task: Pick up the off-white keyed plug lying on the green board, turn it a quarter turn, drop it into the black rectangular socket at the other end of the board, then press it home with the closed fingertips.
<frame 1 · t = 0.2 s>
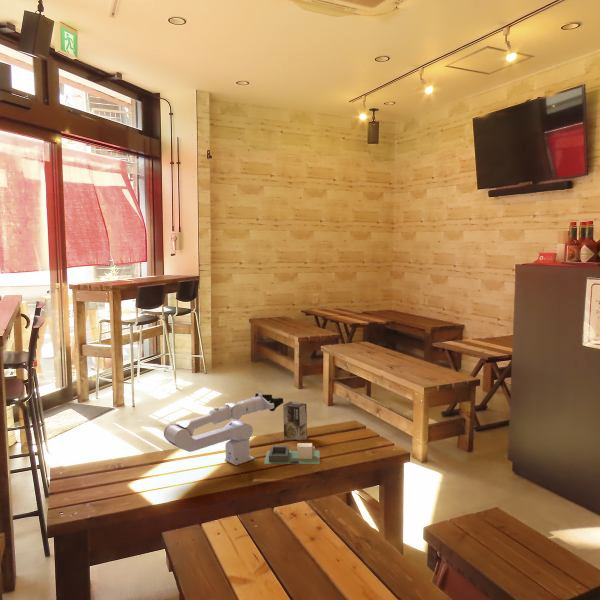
hand: (277, 398, 214), 22 cm above the table, tool horizontal, fingers open, 7 cm apart
board: (292, 459, 202), on the table
plug: (306, 456, 202), point 1 cm above the table, touching board
coffee box: (295, 439, 226), on the table
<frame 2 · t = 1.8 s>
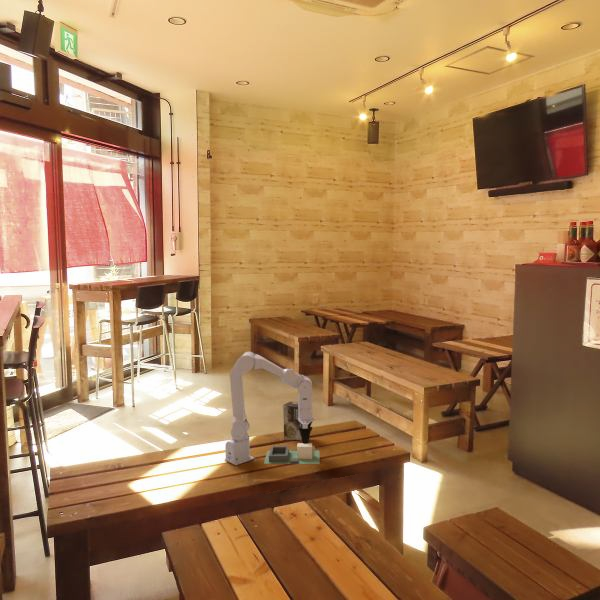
hand: (305, 440, 201), 8 cm above the table, tool pointing down, fingers open, 7 cm apart
nothing on the table moved.
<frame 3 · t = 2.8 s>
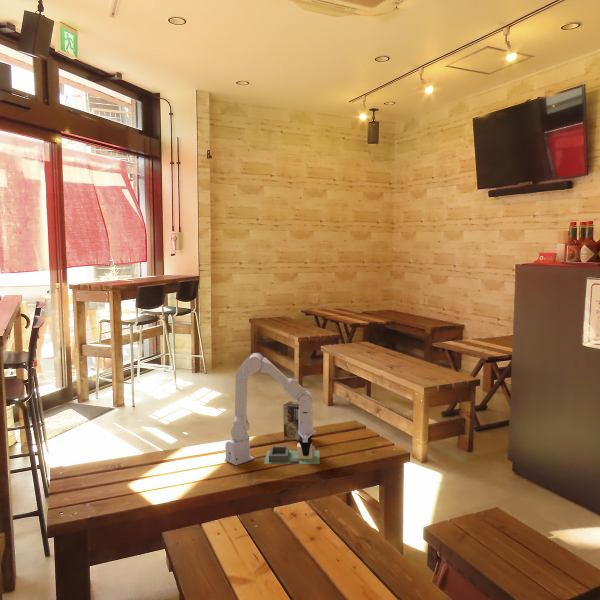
hand: (306, 453, 202), 2 cm above the table, tool pointing down, fingers closed on plug, 4 cm apart
plug: (306, 456, 202), point 1 cm above the table, touching board, gripper
everything else where it was.
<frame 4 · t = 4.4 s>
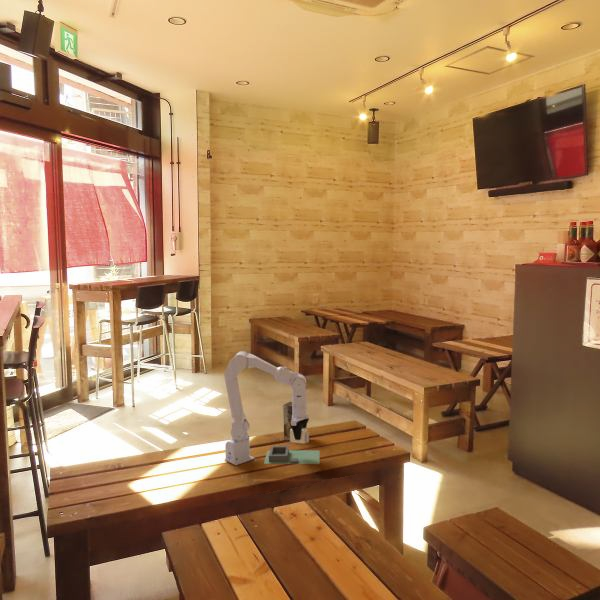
hand: (299, 437, 201), 9 cm above the table, tool pointing down, fingers closed on plug, 4 cm apart
plug: (299, 441, 202), point 8 cm above the table, touching gripper
everything else where it was.
when the fingers open (4 cm above the table, at t = 6.2 s): plug drops 1 cm, resting on board.
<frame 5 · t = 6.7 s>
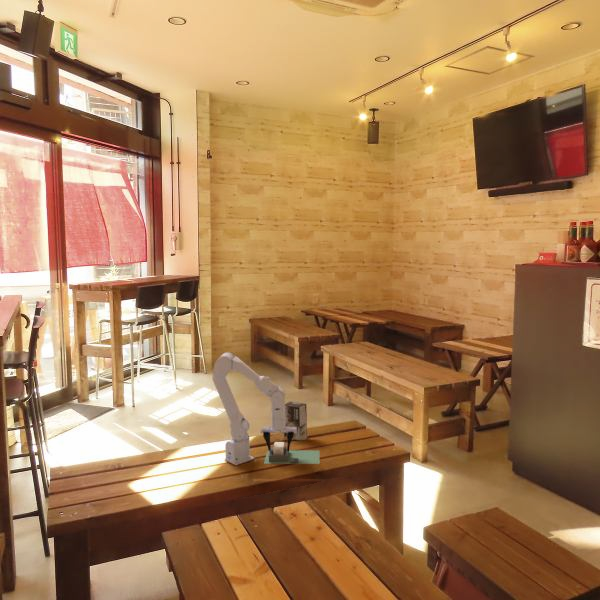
hand: (279, 450, 202), 4 cm above the table, tool pointing down, fingers open, 7 cm apart
plug: (279, 456, 202), point 1 cm above the table, touching board
everything else where it was.
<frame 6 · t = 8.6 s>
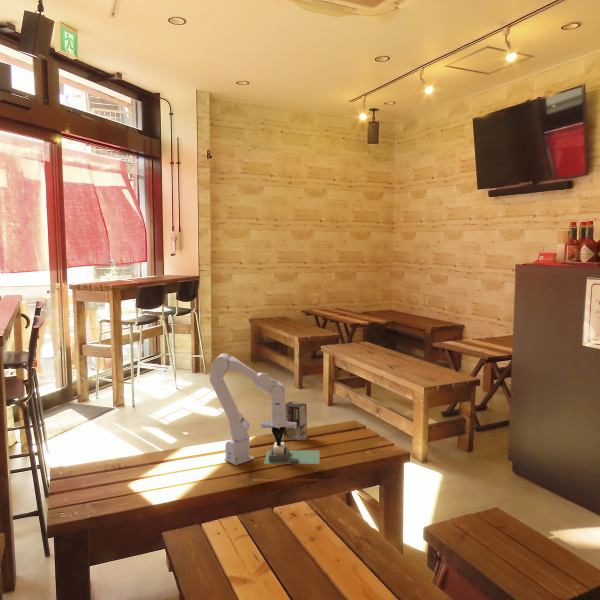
hand: (278, 445, 202), 6 cm above the table, tool pointing down, fingers closed, pressing on plug
plug: (279, 456, 202), point 1 cm above the table, touching board, gripper
everything else where it was.
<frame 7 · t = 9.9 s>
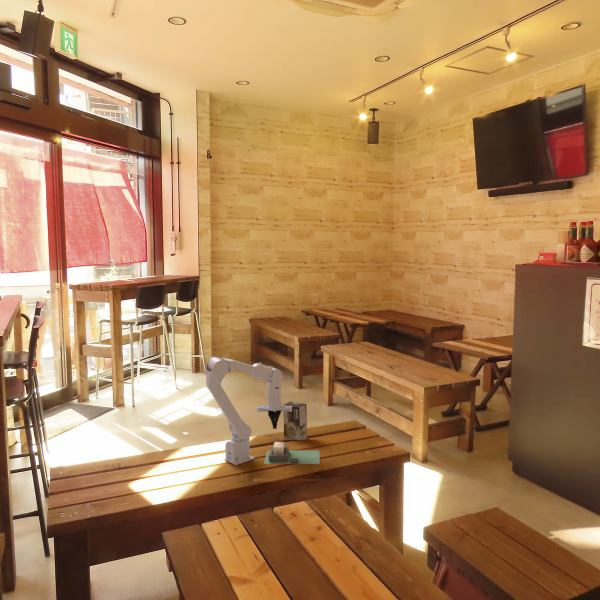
hand: (274, 428, 210), 10 cm above the table, tool pointing down, fingers closed
plug: (279, 456, 202), point 1 cm above the table, touching board
everything else where it was.
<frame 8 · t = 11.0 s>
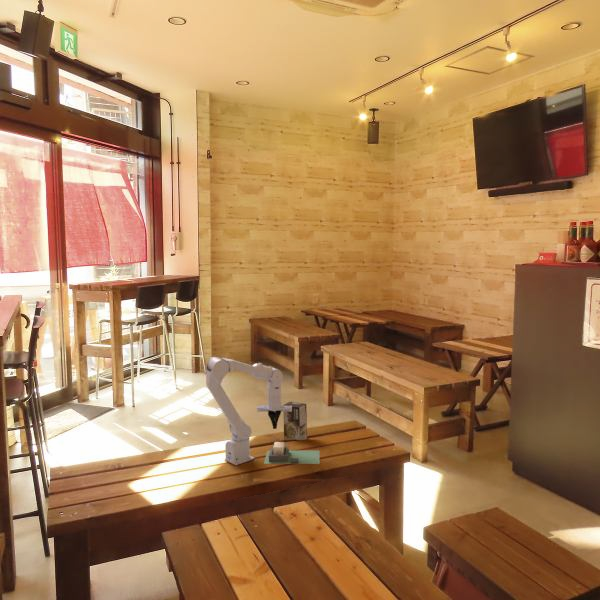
hand: (274, 428, 210), 10 cm above the table, tool pointing down, fingers closed
nothing on the table moved.
at the end: plug 0.1 cm from the target spot on the board, point 1.0 cm above the board's base; plug tilted 0°; the gripper is holding nothing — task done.
